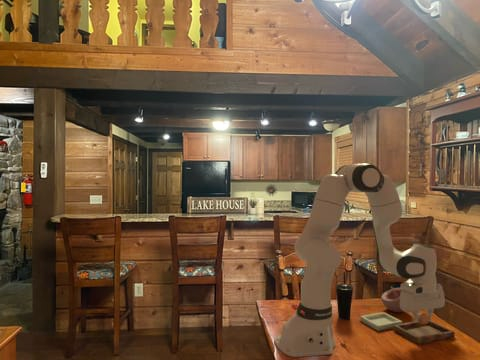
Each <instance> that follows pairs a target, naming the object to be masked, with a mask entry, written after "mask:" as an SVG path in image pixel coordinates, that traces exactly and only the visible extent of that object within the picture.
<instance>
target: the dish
mask: <svg viewBox="0 0 480 360" xmlns="http://www.w3.org/2000/svg"><path fill="white" fill-rule="evenodd" d="M393 331H394V332H396V333H397V334H400V335H401V336H403V337H404V338H406V339H408V340H410V341H412V342H413V343H415V344H417V345H418V346H422V345H427V344H432V343H435V342H439V341H440V342H441V341H445V340H448V339H449V338H450V339H454V338H455V337H456V336H455V335H456V334H455V331H454V330H452V329H450V328H447V327H445V326H443V325H441V324H439V323H438V322H437V323H436V322H435V321H433V320H429V322H428V323H427V324H425V325H423V324H420V323H419V322H416V321H414V320H413V321H409V322H404V323H402V324H398V325H394V328H393ZM450 339H449V340H450Z"/></svg>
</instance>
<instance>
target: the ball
mask: <svg viewBox="0 0 480 360" xmlns="http://www.w3.org/2000/svg"><path fill="white" fill-rule="evenodd" d="M417 314H418V316H419V317H420V321H419V323H420V324H423V325H425V324H427V323H428V322H429V317H428V316H427V315H426V312H419V313H417Z"/></svg>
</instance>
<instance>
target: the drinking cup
mask: <svg viewBox="0 0 480 360" xmlns="http://www.w3.org/2000/svg"><path fill="white" fill-rule="evenodd" d="M335 289H336V305H337V315H338V318H339V319H341V320H343V321H347V320H348V321H349V320H350V319H351V314H352V313H351V311H352V302H353V300H352V299H353V292H354V286H352V285H350V284H349V283H346V272H345V271H344V272H343V283H338V284H335Z"/></svg>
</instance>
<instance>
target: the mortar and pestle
mask: <svg viewBox="0 0 480 360" xmlns="http://www.w3.org/2000/svg"><path fill="white" fill-rule="evenodd" d="M402 290H403V289H401V287H393V286H390V289H389V290H386V291H385V292H384V293H382V294H381V297H380V299H381V302H382V304H383V306H384V307H385V308H386V309H387V310H389V311H391V312H393V313H402V312H405V311H404V310H402V309H401V308H400V293H401V291H402Z"/></svg>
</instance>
